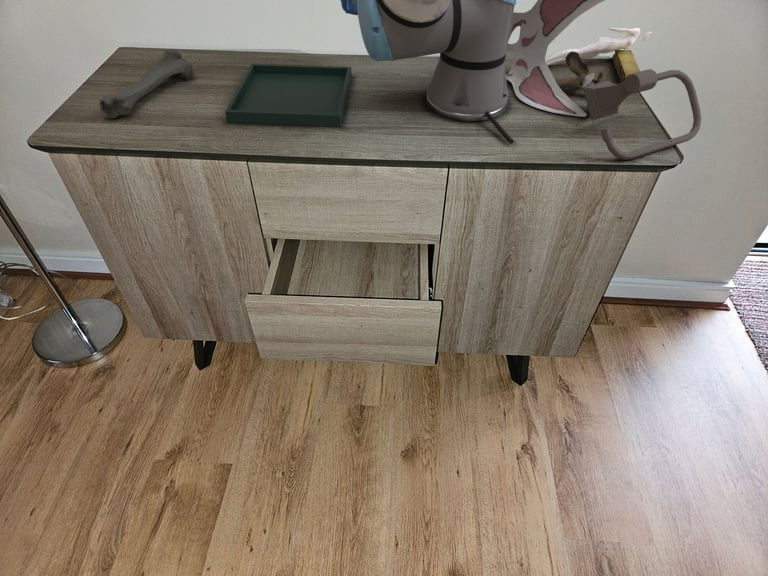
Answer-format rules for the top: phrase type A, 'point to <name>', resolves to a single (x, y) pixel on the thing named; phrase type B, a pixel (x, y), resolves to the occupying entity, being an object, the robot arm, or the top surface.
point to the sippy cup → (350, 6)
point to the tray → (291, 95)
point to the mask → (542, 53)
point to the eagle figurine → (579, 73)
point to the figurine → (601, 45)
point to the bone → (146, 83)
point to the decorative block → (624, 63)
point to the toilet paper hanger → (610, 96)
